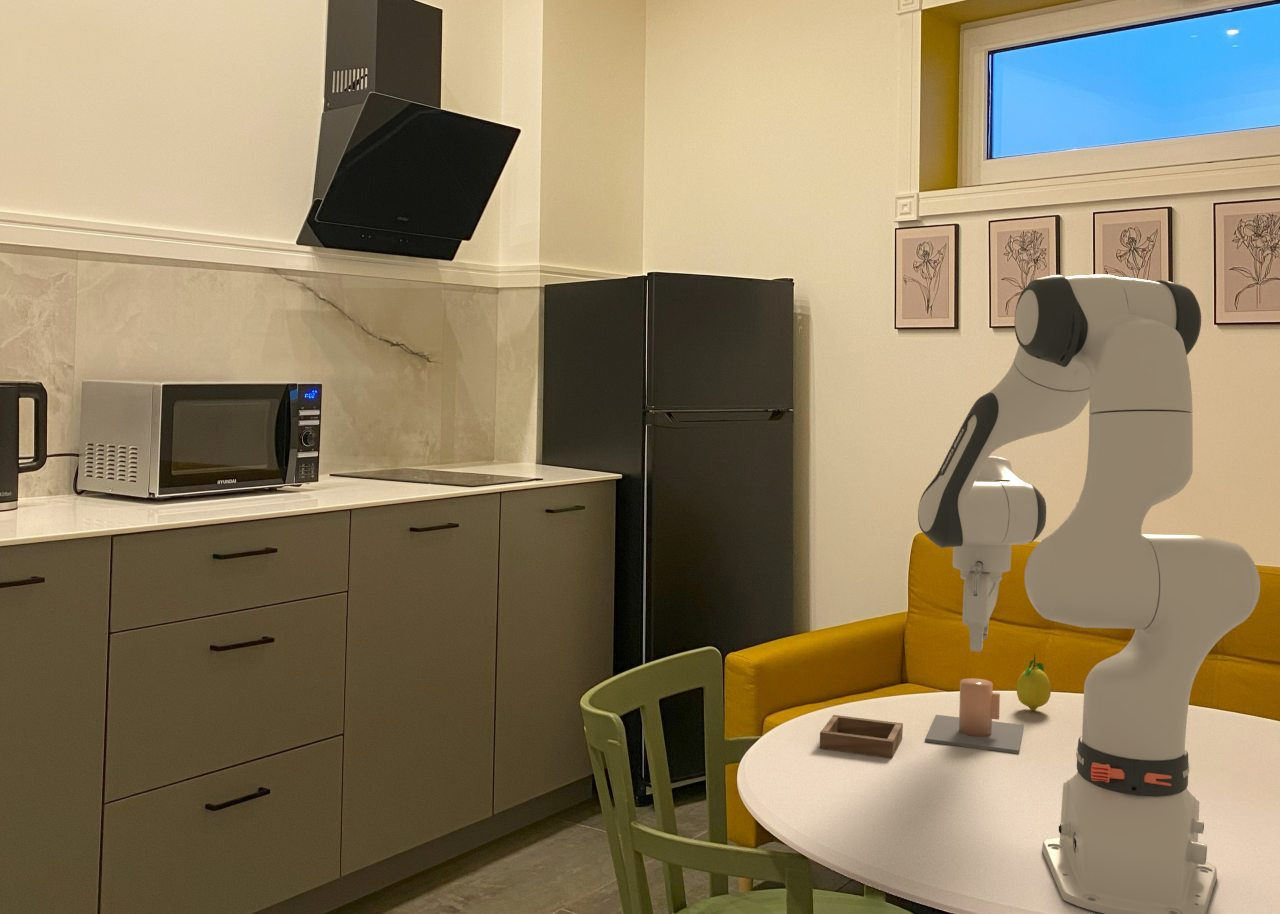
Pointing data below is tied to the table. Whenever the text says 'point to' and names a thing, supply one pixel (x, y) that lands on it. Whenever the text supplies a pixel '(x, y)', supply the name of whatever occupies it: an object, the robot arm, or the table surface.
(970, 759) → the table surface
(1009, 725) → the mat
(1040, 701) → the lemon
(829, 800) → the table surface
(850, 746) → the brown wooden frame
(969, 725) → the capsule with tab
